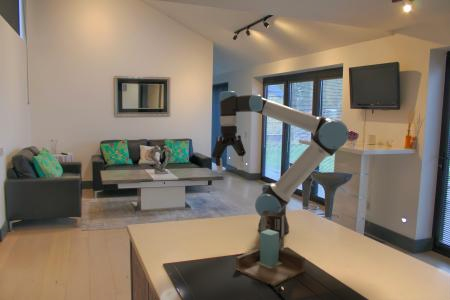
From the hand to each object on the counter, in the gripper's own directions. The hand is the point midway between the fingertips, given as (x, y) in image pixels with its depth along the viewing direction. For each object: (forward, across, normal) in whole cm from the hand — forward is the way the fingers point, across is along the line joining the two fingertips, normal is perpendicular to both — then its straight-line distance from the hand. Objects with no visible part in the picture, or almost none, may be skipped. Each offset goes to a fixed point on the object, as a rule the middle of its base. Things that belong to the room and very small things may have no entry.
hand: (229, 171), depth 178 cm
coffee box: (+32, +1, +24) cm, 40 cm away
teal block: (+31, +15, +33) cm, 48 cm away
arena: (+33, +18, +36) cm, 52 cm away
